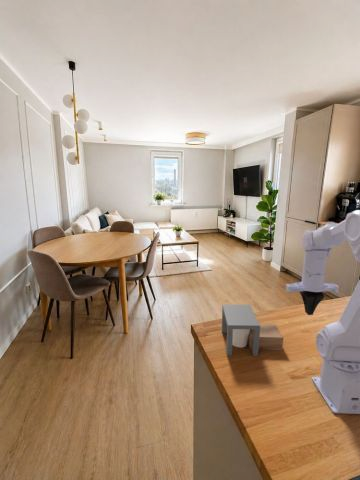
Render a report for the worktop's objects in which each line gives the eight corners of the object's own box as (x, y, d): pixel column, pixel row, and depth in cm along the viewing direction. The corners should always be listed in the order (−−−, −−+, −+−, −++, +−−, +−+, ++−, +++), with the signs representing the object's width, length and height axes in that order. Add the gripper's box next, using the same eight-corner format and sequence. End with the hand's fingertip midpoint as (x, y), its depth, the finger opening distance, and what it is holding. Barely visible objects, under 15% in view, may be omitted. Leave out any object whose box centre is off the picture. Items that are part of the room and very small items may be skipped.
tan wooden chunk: (281, 350, 70) (283, 337, 69) (249, 349, 71) (250, 336, 70) (274, 336, 77) (275, 324, 76) (245, 335, 77) (245, 323, 76)
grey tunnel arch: (258, 355, 68) (260, 325, 66) (227, 355, 68) (228, 325, 66) (248, 331, 79) (249, 304, 77) (221, 330, 80) (222, 304, 78)
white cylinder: (248, 336, 77) (249, 316, 75) (250, 350, 70) (251, 329, 69) (227, 333, 78) (227, 315, 77) (227, 347, 71) (228, 327, 70)
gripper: (330, 266, 72) (325, 306, 75) (283, 266, 72) (279, 306, 75) (346, 274, 65) (339, 318, 68) (293, 275, 65) (289, 318, 68)
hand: (308, 313), depth 71 cm, fingers closed
